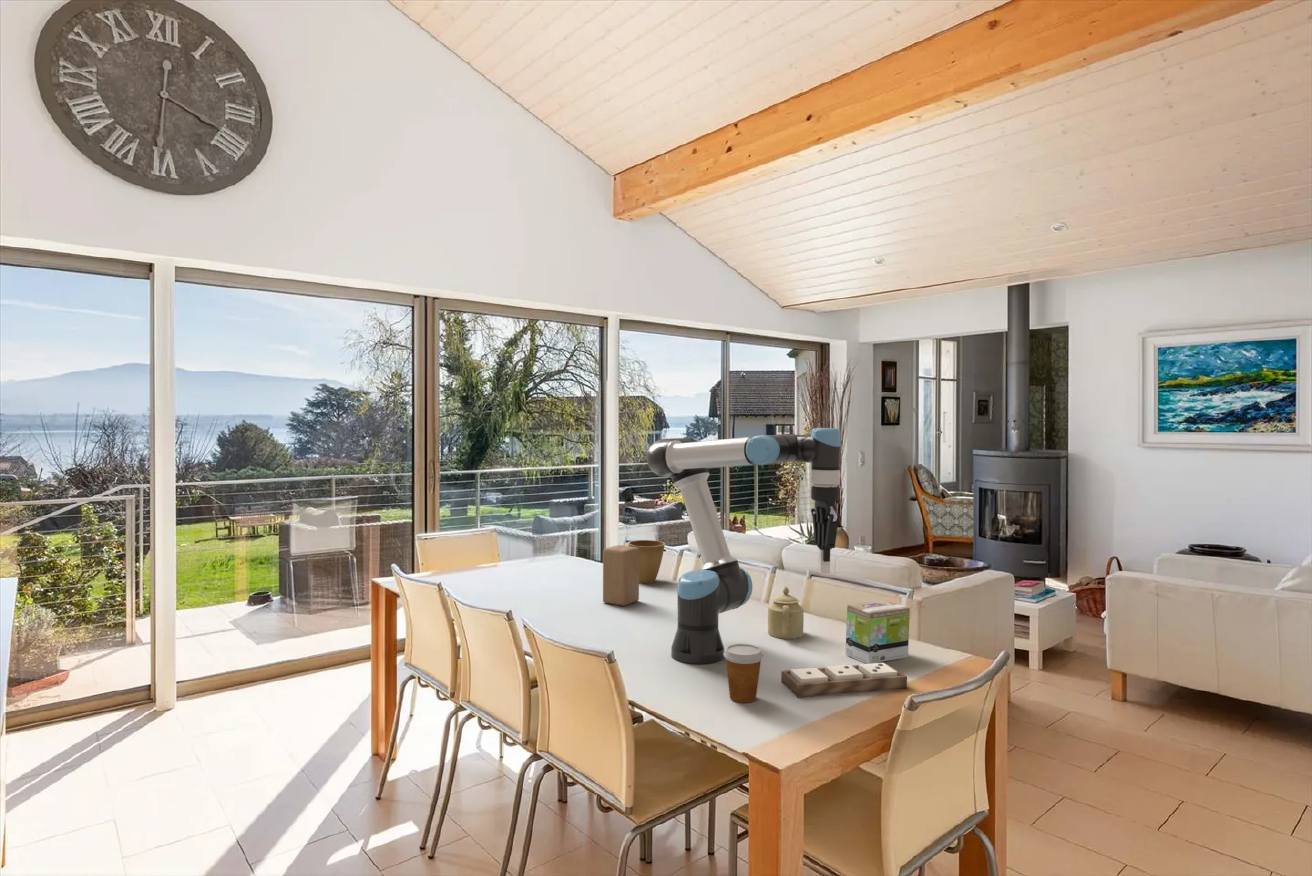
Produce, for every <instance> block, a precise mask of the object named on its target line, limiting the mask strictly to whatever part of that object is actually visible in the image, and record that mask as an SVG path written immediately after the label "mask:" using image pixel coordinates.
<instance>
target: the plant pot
mask: <svg viewBox="0 0 1312 876" xmlns="http://www.w3.org/2000/svg"><path fill="white" fill-rule="evenodd" d="M665 544H666V543H665V542H663V541H659V540H649V539H637V540H631V541H629V542H628V546H630V547H637V548H639V584H653V583H655V582H656V579H657V577H658V574H659V571H660V567H661V564H662V562H663V561H662V560H663V556H664V553H665V552H664V551H665V546H666V545H665Z"/></svg>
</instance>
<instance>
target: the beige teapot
mask: <svg viewBox="0 0 1312 876" xmlns="http://www.w3.org/2000/svg"><path fill="white" fill-rule="evenodd" d="M782 593H783V594H779V595H776V596H775V597H773V598H772V603H771V604H769V605H768V606H767V633H768V635H769V636H771V637H773V638H777V639H784V640H785V639H786V640H790V639H793V640H794V638H795V639H799V637H800V638H802V637H803V636H804V613H805V612H804V607H803V606H802V605H800V604H799V602H800V600H799V599H798V598H796V597H795V596H794V595H790V594H789V593H790V589H789V588H788V586H784V587H783V589H782Z"/></svg>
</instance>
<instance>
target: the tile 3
mask: <svg viewBox="0 0 1312 876" xmlns="http://www.w3.org/2000/svg"><path fill="white" fill-rule="evenodd" d="M884 663H885V662H877V663H872V664H866V663H863V664H861V663H859V664H858V665H859V670H860V671H862V672H863V673H864V674H866V675H867V676H869V677H870V678H876V677H889V676H897V671H898V670H897V671H895V670H894V669H895V668H894V669H892V668H891V667H892V666H891V667H889V666H887V665H886V664H887V663H886V664H884Z"/></svg>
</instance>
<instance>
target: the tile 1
mask: <svg viewBox="0 0 1312 876" xmlns="http://www.w3.org/2000/svg"><path fill="white" fill-rule="evenodd" d="M817 668H818V667H806V668H792V669H789V670H790V675H791V676H792V677H793V678H794V679H795V680H797V681H798V682H799V683H812V682H824V681H828V677H827V676H826V675H825V674H823V673H822V672H821V671H820V670H818V669H817Z"/></svg>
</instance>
